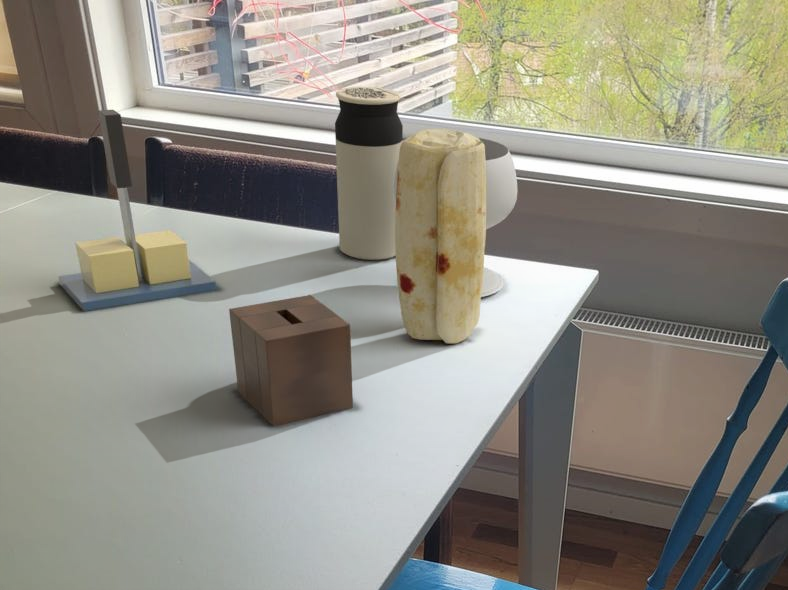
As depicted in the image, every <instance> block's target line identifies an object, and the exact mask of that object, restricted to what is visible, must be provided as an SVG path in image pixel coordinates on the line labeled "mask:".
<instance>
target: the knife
mask: <svg viewBox="0 0 788 590" xmlns="http://www.w3.org/2000/svg"><path fill="white" fill-rule="evenodd" d="M97 112H98V119H99V124H100V130H101V135H102V142H103V147H104V153H105V159H106V165H107V170H108V176H109V182H110V184H111V185H113V186H114V187H115V188H116V191H117V197H118V198H117V199H118V204H119V207H120V208H119V209H120V215H121V220H122V221H121V222H122V226H123V232H124V238H125V239H124V240H125V243H126V244H127V245H128V246H129V247H130V248H131V249H132V250H133V253H134V259H135V264H136V270H137V276H138V282H143V281H142V275H141V269H140V263H139V257H138V251H137V245H136V239H135V235H136V233H135V228H134V222H133V221H134V220H133V215H132V209H131V203H130V197H129V191H128V190H129V189H128V188H132V187H133V183H132V178H131V170H130V164H129V158H128V152H127V145H126V139H125V134H124V127H123V120H122V115H121V113H119V112H118V111H116V109H102V110H101V109H99V110H98V111H97Z"/></svg>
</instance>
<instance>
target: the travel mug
mask: <svg viewBox="0 0 788 590" xmlns="http://www.w3.org/2000/svg"><path fill="white" fill-rule="evenodd" d="M335 96H336V98H337V99H338V100H337V101H338V104H339V113H338V114H337V117H336V120H335V122H334V133H335V135H334V136H335V159H336V160H335V163H336V187H337V188H336V189H337V212H338V215H337V216H338V236H339V237H338V238H339V239H338V240H339V242H338V243H339V250H340V252H342V253H343V254H344V255H346V256H348V257H351V258H354V259H357V260H358V259H359V260H363V261H383V260H388V259H392V258H394V257H396V255H395V209H396V199H395V196H394V180H395V172H396V167H397V163H398V160H399V151H400V146H401V144H402V142H403V141H404V140H403V138H404V136H403V135H404V130H403V127H404V125H403V123H402V120H401V118H400V117H399V114H398V106H399V105H398V104H399V101H400V100H401V97H402V96H401V94H400V93H399V92H398V91H395V90H392V89H388V88H384V87H377V86H376V87H374V86H350V87H344V88H341V89H339V90H337V91H336V93H335Z"/></svg>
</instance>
